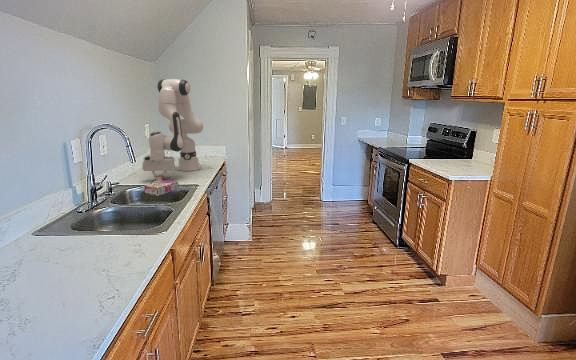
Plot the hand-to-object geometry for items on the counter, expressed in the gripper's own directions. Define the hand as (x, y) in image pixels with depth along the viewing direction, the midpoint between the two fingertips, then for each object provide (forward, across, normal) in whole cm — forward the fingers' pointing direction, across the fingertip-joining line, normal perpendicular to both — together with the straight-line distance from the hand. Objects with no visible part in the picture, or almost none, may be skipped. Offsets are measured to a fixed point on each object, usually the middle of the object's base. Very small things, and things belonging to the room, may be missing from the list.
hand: (159, 176), depth 224 cm
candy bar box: (+1, -12, +18) cm, 22 cm away
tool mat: (+3, 0, +2) cm, 4 cm away
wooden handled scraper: (+3, 0, +3) cm, 4 cm away
